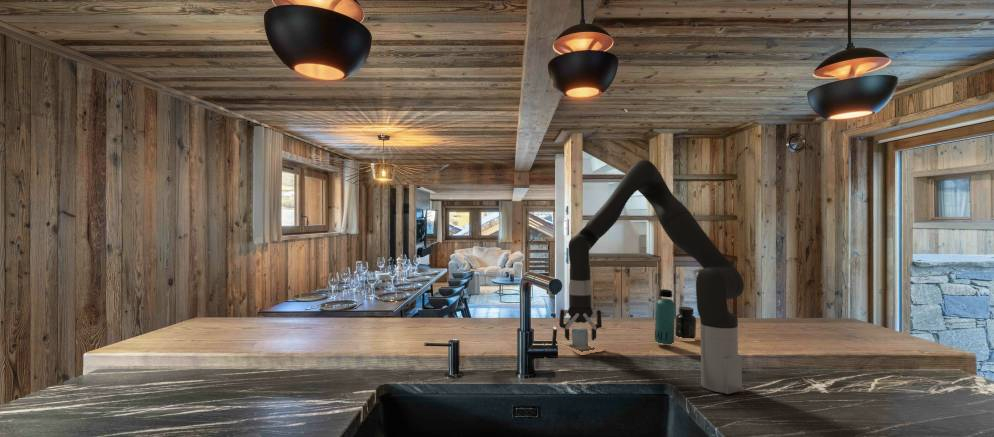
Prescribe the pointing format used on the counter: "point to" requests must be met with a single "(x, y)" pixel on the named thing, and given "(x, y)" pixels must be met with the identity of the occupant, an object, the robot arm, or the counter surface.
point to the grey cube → (579, 336)
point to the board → (580, 348)
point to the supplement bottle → (685, 323)
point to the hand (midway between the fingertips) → (580, 339)
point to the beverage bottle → (664, 318)
